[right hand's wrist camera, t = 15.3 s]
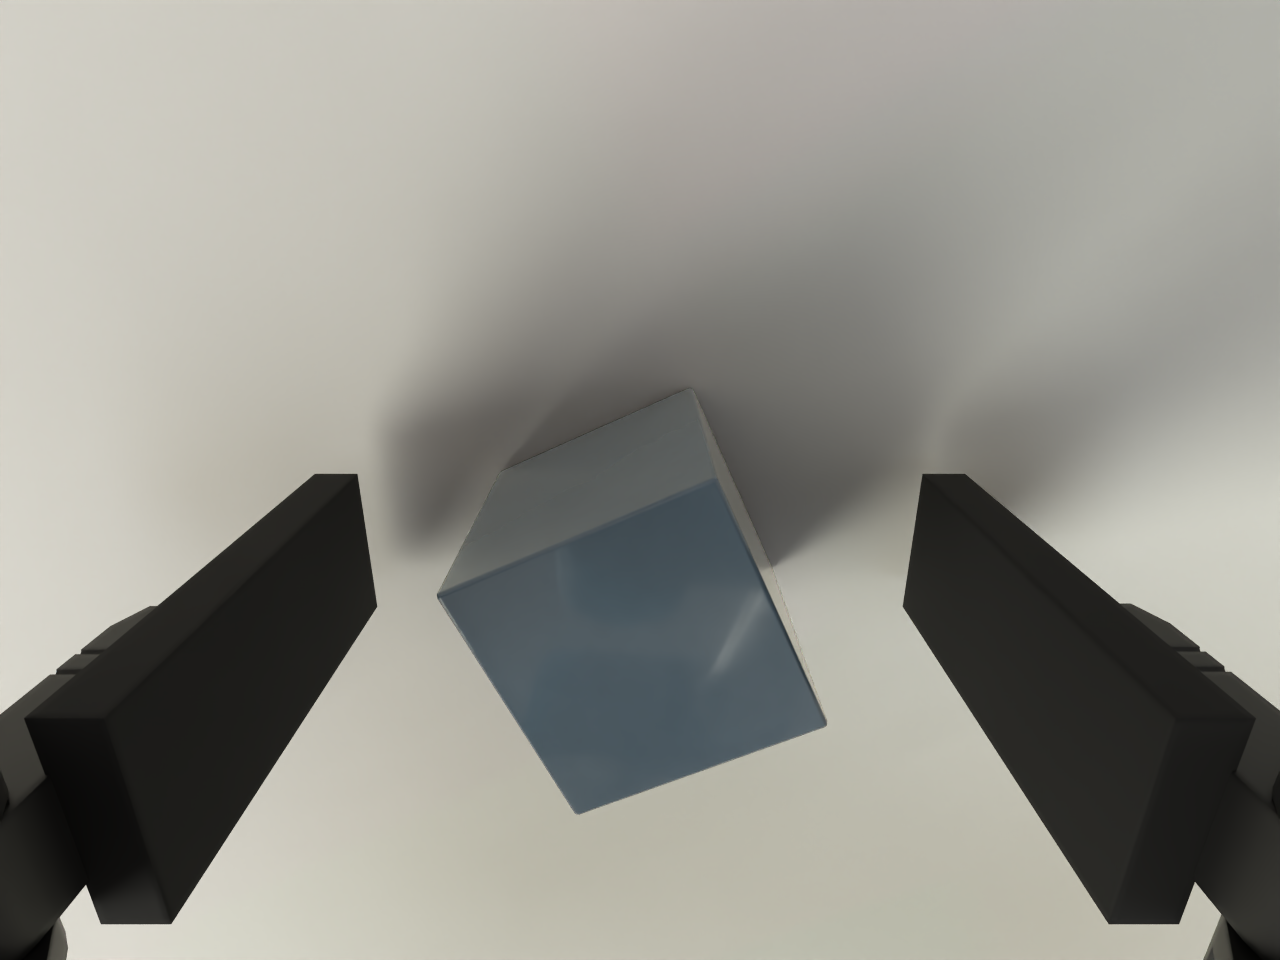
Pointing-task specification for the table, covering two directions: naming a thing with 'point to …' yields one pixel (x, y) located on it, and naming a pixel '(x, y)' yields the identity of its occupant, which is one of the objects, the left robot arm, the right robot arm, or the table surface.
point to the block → (630, 609)
